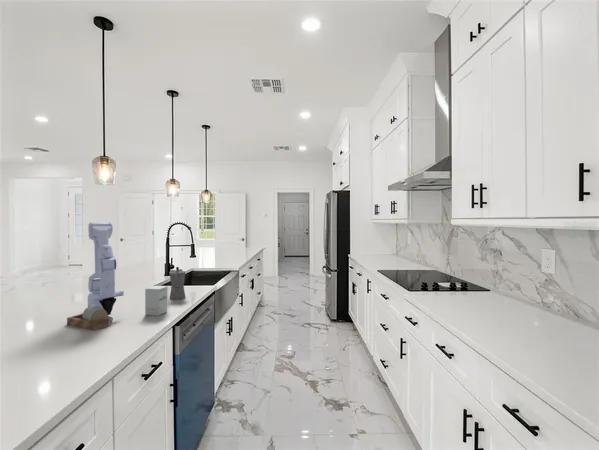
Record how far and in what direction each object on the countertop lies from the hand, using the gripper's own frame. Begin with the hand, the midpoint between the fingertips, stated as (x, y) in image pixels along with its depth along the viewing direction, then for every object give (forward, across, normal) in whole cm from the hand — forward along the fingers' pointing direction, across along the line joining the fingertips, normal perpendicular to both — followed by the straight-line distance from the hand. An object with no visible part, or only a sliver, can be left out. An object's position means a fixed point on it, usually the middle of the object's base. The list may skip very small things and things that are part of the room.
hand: (107, 314), depth 149 cm
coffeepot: (+2, +46, +4) cm, 46 cm away
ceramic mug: (+2, -5, -2) cm, 6 cm away
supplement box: (+2, +16, -12) cm, 21 cm away
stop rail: (+2, -9, 0) cm, 9 cm away
